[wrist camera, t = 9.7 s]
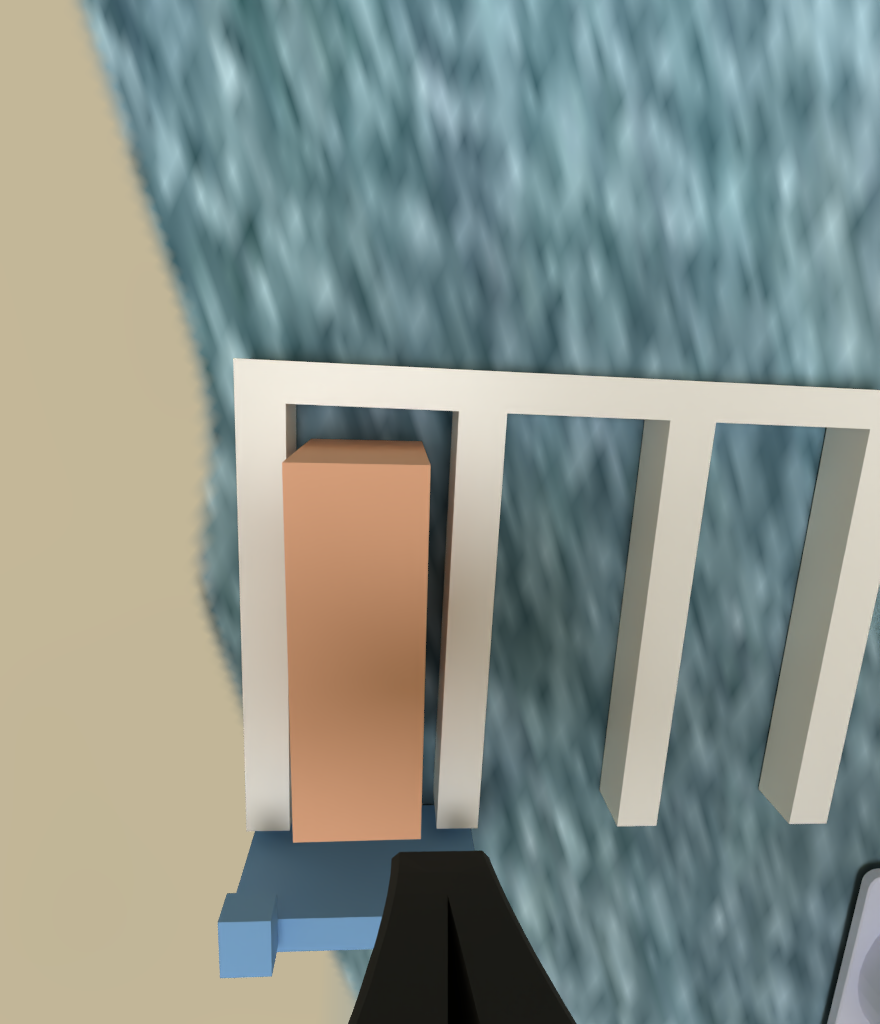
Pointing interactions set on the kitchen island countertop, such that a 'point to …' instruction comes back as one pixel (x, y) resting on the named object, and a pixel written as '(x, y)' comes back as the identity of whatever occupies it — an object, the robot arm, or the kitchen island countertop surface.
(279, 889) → the blue bracket
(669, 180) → the kitchen island countertop surface
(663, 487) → the comb organizer
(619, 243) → the kitchen island countertop surface
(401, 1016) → the robot arm
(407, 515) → the tall peach block
